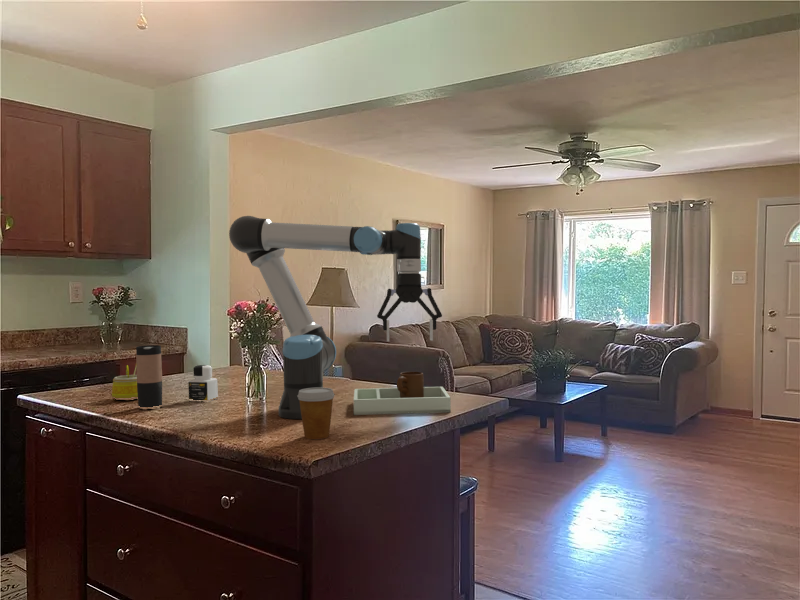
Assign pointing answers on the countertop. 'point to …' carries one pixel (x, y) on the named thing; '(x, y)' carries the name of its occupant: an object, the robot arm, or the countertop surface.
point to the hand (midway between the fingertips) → (409, 340)
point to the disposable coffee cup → (316, 411)
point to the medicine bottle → (203, 384)
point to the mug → (411, 385)
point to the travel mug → (149, 375)
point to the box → (400, 401)
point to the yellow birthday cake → (125, 385)
